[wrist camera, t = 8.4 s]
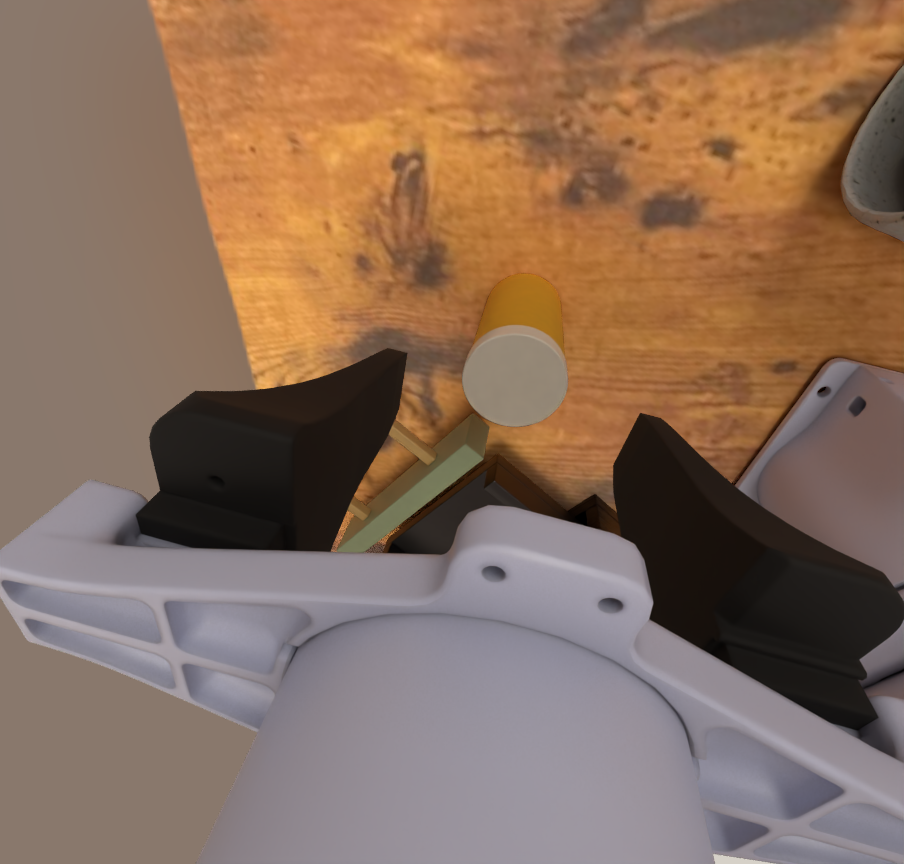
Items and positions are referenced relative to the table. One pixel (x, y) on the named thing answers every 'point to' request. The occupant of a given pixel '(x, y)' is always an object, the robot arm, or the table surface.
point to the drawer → (444, 516)
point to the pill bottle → (518, 354)
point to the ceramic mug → (878, 164)
